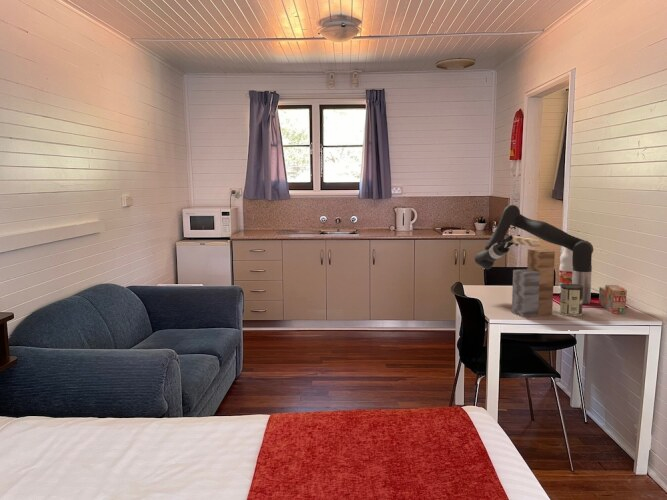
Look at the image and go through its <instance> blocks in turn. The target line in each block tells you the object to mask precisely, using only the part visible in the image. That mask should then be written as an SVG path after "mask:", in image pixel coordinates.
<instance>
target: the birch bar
mask: <svg viewBox="0 0 667 500" xmlns="http://www.w3.org/2000/svg"><path fill="white" fill-rule="evenodd" d="M509 236H510V235H508V236H507V237H509ZM512 237H513V239H512V240H511V241H509V242H512V243H517V244H519V245H523V246H528V247H531V248H534V247H541V239H537V238H531V237H525V236H521V235H520V236H517V235H512Z"/></svg>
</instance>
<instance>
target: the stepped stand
mask: <svg viewBox="0 0 667 500" xmlns="http://www.w3.org/2000/svg"><path fill="white" fill-rule="evenodd" d="M555 254H556V251H555V250H551V249H546V248H530V249H529V248H528V249H527V261H526V265H527V266H526V268H522V269H512V292H511V293H512V294H511V295H512V296H511V297H512V298H511V314H513V315H516V316H518V315H519V316H518V317H521V318H523V317H527V318H535V317H537V318H538V317H546V316H547V317H548V316H552V315H553V303H554V284H555V283H554V281H555V279H554V278H555V260H556V259H555Z"/></svg>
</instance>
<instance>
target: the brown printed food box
mask: <svg viewBox="0 0 667 500" xmlns="http://www.w3.org/2000/svg"><path fill="white" fill-rule="evenodd" d="M598 290H599V295H598V296H599V298H598V304H599V305H600V306H601V307H603V308H604V309H605V310H607V311H608V312H609V313H610V314H612V315H613V314H615V315H616V314H617V315H625V314H626V309H627V308H626V304H627V294H628V293H627V292H628V290H627V289H625V287H622V286H620V285H618V284H605V286H599V289H598Z"/></svg>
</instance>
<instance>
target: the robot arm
mask: <svg viewBox="0 0 667 500" xmlns="http://www.w3.org/2000/svg"><path fill="white" fill-rule="evenodd" d="M511 226H513V227H515V228H518V229H520V230H523V231H525V232H527V233H529V234H531V235H533V236H535V237H537V238H539V240H543V241H544V242H547V243H550V244H552V245H553V244H554V245H557V246H561V247H564V248H565V247H566V248H568V249H569V250H571V251H573V257H572V266H573V273H572V284H577V285H582V286H583V287H584V288H583V303H582V305H583V304H584V305H585V304H588V305H589V304H590V303H591V293H592V271H593V269H592V268H593V267H592V260H593V259H592V257H593V255H592V254H593V252H594V246H593V244H592V243H591V242H590V241H588V240H585V239H582V238H580V237H576V236H573V235H571V234H569V233H568V232H565V231H564V230H562V229H560V228H558V227H556V226H554V225H552V224H550V223H548V222H546V221H543V220H535V219H531V218H528V217H526V216H524V215H522V214H521V210H520V208H519V207H518V206H517V205H515V204H509V205H507V206H506V207H505V208H504V210H503V211H502V215H501V218H500V219H499V222H498V224H497V226H496V228H495V230H494V231H493V233H492V234H491V237H490V238H489V239H488V241H487V243H486V244H485V247H484V250H483V251H479V252H478V253H477V254H476V255H475V256H474V262H475V263H476V264H477V265H478V266H480V267H481V268H483V269H485V270H490V269H492V268H493V267H494V263H495V261H496V260H498V259H500V258H501V257H503V256H504V255H506V254H507V253H508V252H509V251H510V249H511V248H512V247H513V246H515V247H518V246H519V245H520V244H517V243H512V242H509V241H511V240H512V239H513V237H512V236H513V235H512V234H510V235H508V236H509V237H508V236H507V237H506V235H507V233H508V230H510V229H509V228H510V227H511ZM516 236H520V237H521V234H517V235H516Z"/></svg>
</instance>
